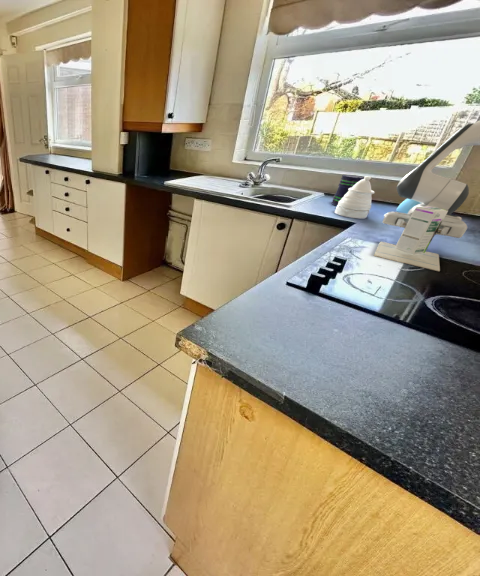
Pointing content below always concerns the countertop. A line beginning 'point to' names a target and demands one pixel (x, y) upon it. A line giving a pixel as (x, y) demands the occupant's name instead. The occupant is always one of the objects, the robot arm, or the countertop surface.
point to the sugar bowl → (407, 205)
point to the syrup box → (420, 229)
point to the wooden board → (408, 256)
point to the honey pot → (356, 200)
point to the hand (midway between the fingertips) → (421, 228)
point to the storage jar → (345, 186)
